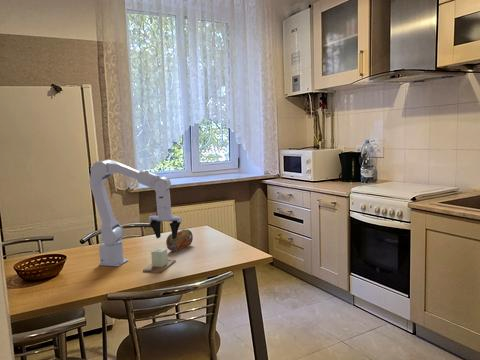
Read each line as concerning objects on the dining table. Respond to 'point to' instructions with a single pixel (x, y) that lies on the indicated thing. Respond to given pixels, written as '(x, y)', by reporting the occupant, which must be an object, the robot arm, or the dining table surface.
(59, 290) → the dining table surface
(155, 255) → the block
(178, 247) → the tin
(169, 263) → the board
